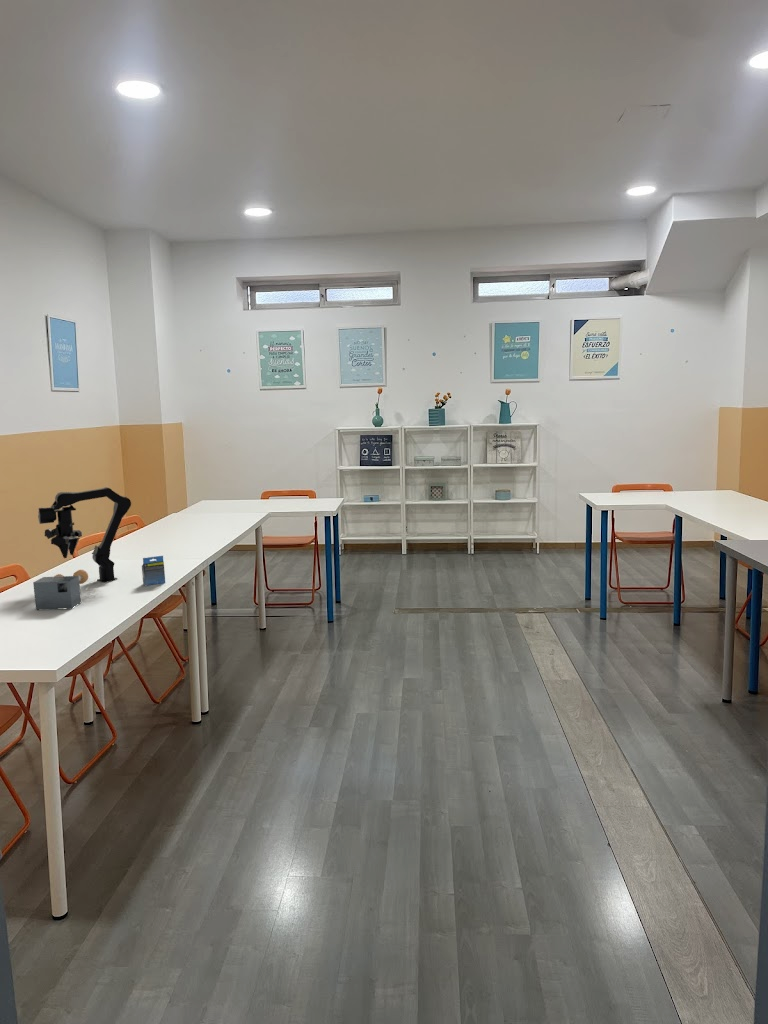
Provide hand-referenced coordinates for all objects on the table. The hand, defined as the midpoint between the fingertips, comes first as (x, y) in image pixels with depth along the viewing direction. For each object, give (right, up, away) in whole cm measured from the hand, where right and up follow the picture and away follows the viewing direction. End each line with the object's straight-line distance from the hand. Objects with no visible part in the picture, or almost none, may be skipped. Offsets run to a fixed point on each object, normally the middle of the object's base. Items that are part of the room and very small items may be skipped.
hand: (68, 556), depth 327 cm
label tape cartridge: (+37, -12, +1) cm, 39 cm away
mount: (+10, -17, -30) cm, 36 cm away
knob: (+14, -11, -26) cm, 32 cm away
